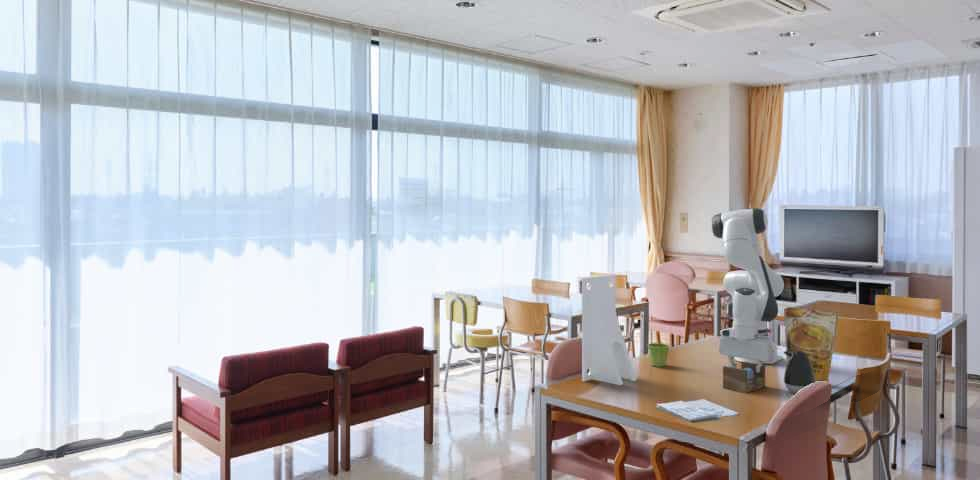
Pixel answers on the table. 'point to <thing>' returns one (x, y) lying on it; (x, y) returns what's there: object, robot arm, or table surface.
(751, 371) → the blue roll
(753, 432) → the table surface
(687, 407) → the light blue flat cloth
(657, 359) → the plant pot
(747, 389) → the open wooden box
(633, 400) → the table surface
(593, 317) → the white bracket plate
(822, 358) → the pancake mix bag
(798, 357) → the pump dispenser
